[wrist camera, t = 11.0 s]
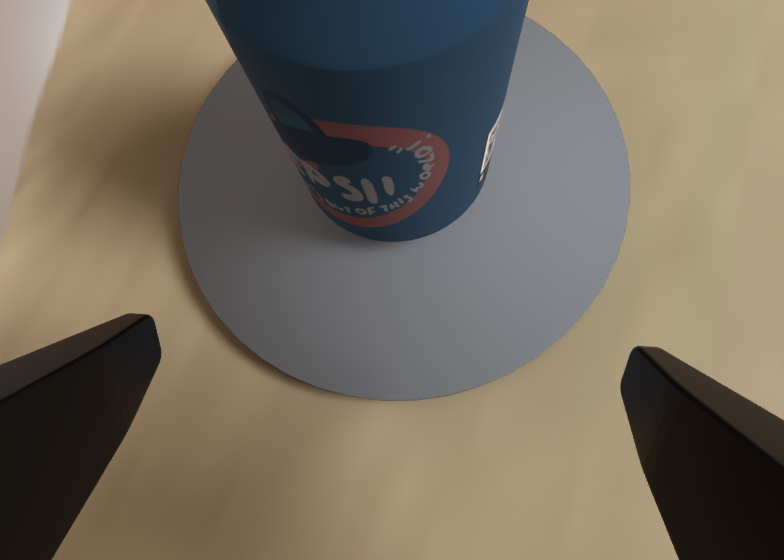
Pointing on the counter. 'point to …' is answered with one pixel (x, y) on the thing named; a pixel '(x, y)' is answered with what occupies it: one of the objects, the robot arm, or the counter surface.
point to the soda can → (381, 100)
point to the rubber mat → (411, 242)
